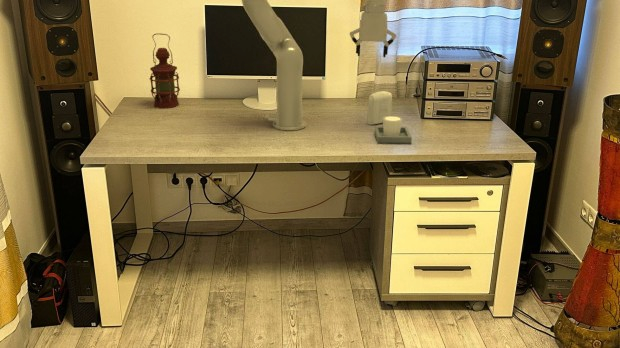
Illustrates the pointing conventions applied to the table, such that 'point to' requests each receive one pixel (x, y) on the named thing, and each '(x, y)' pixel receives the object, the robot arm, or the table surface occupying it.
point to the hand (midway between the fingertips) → (371, 56)
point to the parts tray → (393, 137)
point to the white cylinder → (392, 125)
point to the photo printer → (379, 107)
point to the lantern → (164, 80)
